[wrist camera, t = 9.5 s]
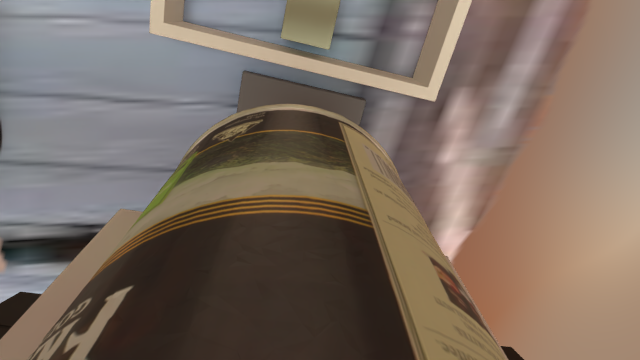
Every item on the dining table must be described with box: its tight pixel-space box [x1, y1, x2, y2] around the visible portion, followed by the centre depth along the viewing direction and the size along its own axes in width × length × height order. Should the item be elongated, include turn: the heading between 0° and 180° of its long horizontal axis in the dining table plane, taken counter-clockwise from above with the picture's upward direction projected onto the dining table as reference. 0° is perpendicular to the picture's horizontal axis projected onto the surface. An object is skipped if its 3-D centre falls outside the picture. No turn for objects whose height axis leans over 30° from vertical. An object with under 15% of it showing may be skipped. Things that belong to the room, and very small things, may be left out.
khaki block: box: [281, 0, 340, 50], centre depth 31 cm, size 4×4×5 cm
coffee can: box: [27, 104, 506, 360], centre depth 10 cm, size 10×10×14 cm
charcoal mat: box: [237, 71, 366, 126], centre depth 38 cm, size 12×12×1 cm
